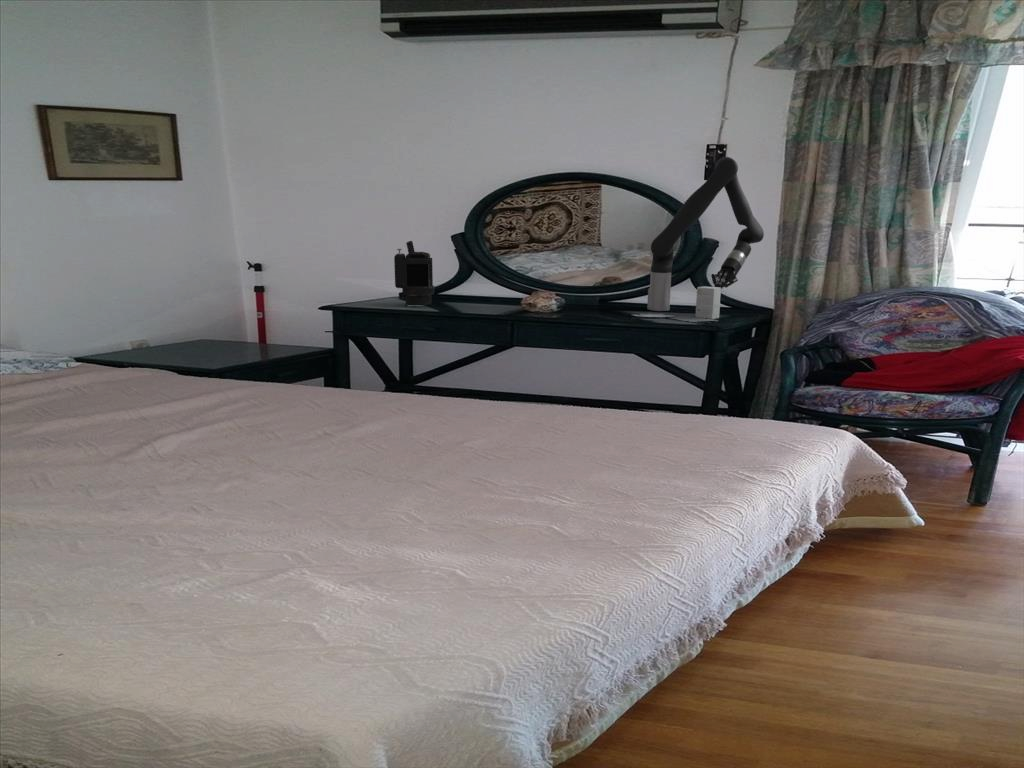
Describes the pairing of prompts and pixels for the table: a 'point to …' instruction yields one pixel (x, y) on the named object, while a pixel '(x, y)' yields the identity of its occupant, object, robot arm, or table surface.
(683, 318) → the mat
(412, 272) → the black boxy device
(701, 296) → the small box
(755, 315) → the table surface
